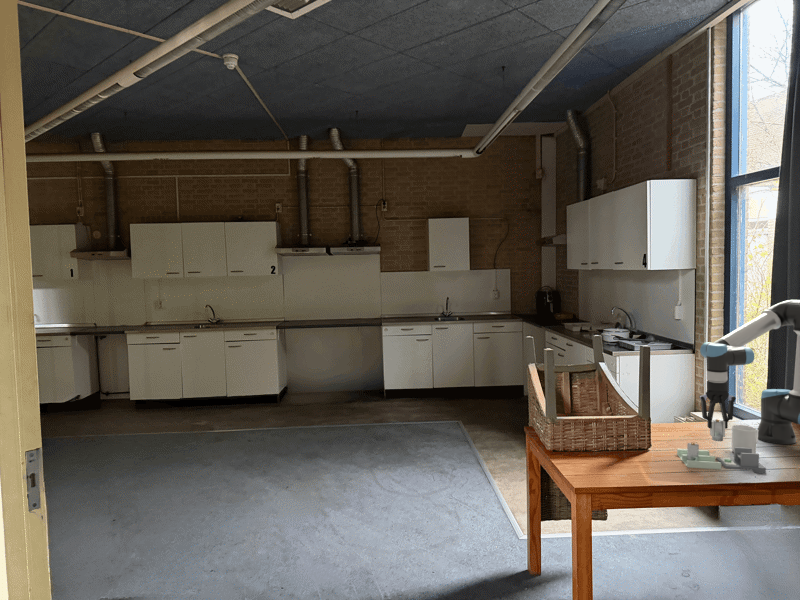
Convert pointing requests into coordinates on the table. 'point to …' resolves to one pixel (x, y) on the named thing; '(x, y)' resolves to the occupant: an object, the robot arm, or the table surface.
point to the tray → (703, 462)
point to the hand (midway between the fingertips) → (717, 435)
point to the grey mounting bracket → (743, 460)
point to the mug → (744, 437)
